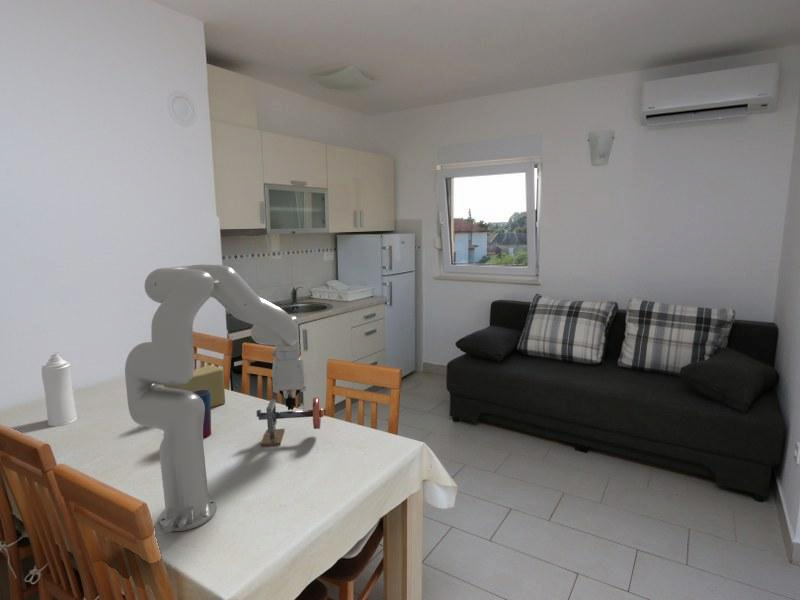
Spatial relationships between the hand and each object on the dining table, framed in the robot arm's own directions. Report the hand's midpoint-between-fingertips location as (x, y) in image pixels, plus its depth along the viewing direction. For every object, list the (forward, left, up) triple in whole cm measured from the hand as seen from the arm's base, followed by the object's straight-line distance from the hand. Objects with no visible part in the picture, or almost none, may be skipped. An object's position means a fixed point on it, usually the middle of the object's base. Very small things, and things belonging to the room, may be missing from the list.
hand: (291, 408), depth 152 cm
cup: (+6, +30, -10) cm, 33 cm away
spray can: (+27, +86, -10) cm, 91 cm away
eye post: (0, +6, -10) cm, 12 cm away
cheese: (+29, +41, -10) cm, 51 cm away
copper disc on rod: (0, 0, -7) cm, 7 cm away
